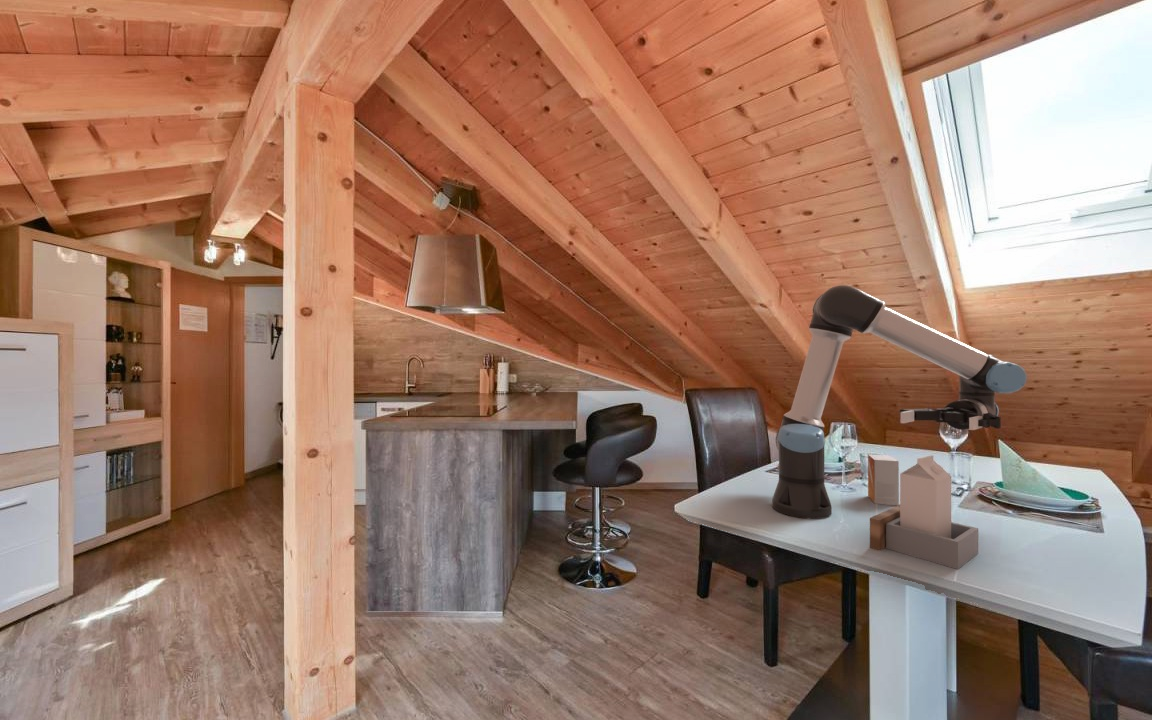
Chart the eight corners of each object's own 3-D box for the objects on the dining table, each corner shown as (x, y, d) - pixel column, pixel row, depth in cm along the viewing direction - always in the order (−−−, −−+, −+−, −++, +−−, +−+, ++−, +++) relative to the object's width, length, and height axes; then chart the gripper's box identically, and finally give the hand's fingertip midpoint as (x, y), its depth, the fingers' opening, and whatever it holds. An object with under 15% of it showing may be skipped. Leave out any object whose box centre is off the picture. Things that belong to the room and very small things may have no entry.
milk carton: (899, 540, 107) (899, 455, 107) (915, 533, 111) (915, 452, 111) (936, 551, 101) (936, 461, 101) (951, 544, 105) (951, 458, 104)
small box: (867, 496, 147) (867, 454, 147) (891, 498, 145) (891, 455, 145) (874, 503, 139) (874, 459, 139) (899, 506, 137) (899, 461, 137)
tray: (958, 569, 96) (958, 542, 96) (886, 548, 106) (886, 523, 106) (978, 553, 103) (978, 528, 103) (909, 535, 114) (909, 512, 114)
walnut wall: (879, 551, 105) (879, 520, 105) (869, 548, 107) (869, 517, 107) (911, 533, 115) (911, 505, 115) (902, 531, 117) (902, 503, 117)
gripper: (1029, 434, 114) (1004, 444, 102) (909, 423, 135) (877, 430, 122) (1029, 403, 114) (1004, 409, 102) (909, 396, 135) (877, 401, 122)
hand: (935, 420), depth 112 cm, fingers open, 13 cm apart
